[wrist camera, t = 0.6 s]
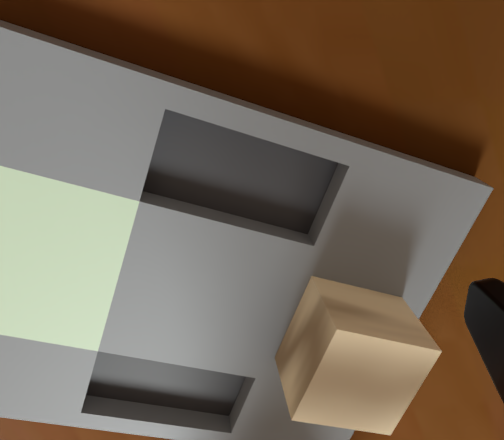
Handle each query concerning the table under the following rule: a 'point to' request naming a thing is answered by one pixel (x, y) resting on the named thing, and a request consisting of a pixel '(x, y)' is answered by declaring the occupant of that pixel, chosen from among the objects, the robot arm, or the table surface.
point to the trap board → (186, 243)
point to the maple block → (353, 357)
